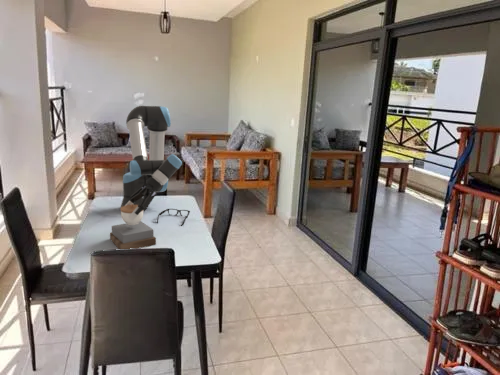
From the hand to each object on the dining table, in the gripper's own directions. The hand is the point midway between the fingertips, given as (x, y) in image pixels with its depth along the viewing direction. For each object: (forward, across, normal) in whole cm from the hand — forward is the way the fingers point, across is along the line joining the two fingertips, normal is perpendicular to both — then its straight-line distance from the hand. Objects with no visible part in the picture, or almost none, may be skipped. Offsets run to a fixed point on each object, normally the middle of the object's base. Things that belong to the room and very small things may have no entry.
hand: (126, 215), depth 187 cm
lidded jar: (+1, 0, -5) cm, 5 cm away
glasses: (-14, +22, -35) cm, 44 cm away
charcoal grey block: (+6, 0, -10) cm, 11 cm away
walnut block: (+8, 0, -12) cm, 15 cm away
